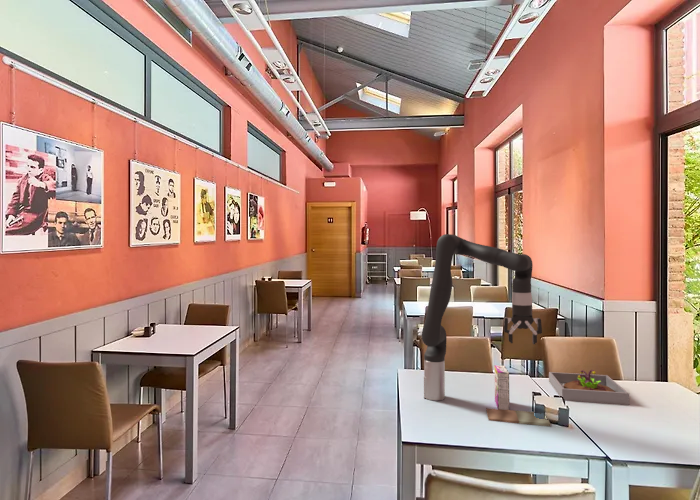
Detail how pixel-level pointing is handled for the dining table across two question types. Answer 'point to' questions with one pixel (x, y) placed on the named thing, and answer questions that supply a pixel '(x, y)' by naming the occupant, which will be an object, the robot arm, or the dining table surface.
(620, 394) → the planter frame
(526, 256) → the robot arm
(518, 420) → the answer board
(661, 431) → the dining table surface
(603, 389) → the plant
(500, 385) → the candy bar box
